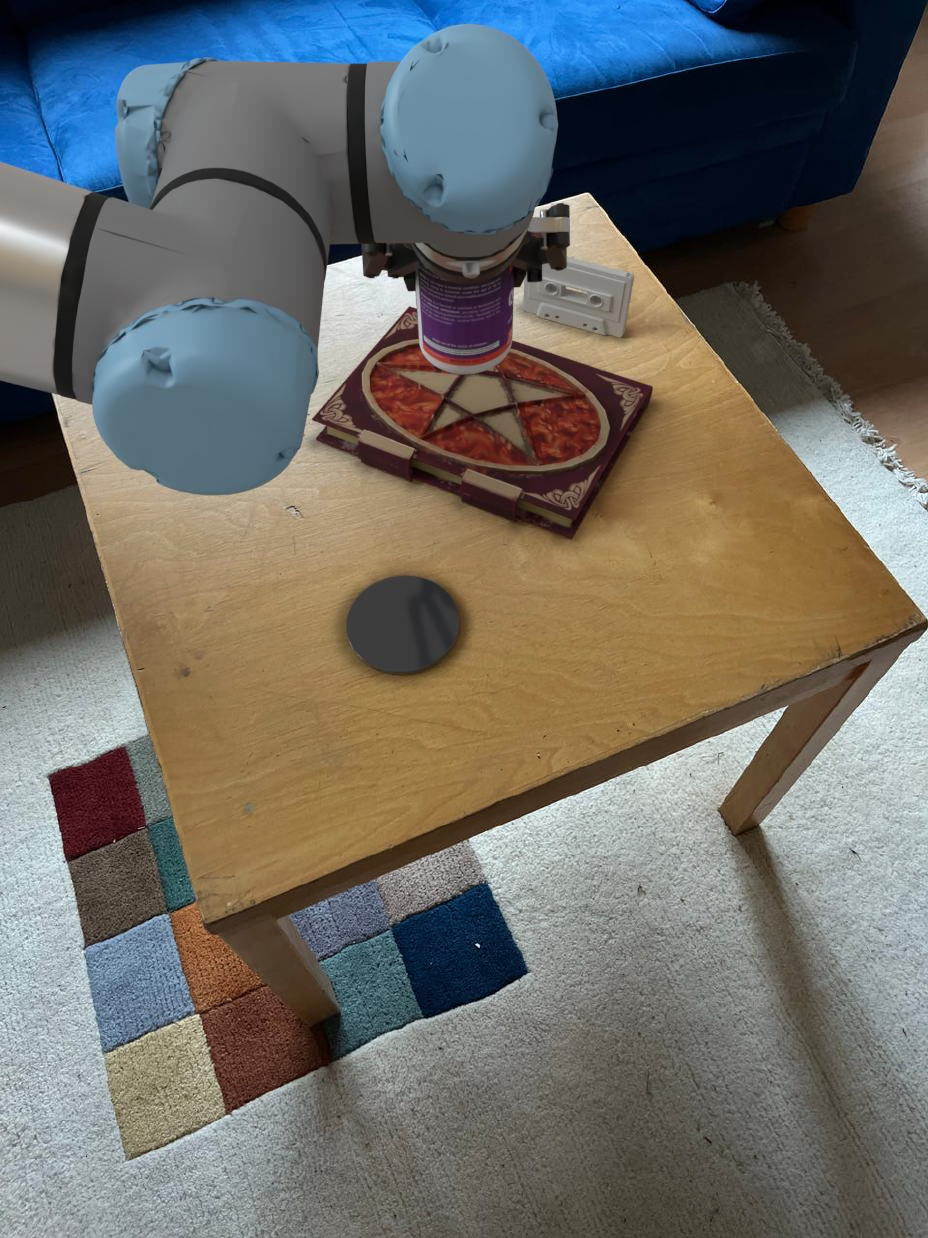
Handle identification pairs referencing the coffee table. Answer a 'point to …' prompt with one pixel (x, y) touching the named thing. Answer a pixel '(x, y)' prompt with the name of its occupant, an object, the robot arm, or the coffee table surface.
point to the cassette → (582, 296)
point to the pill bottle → (464, 321)
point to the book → (488, 426)
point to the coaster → (402, 625)
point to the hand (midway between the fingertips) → (463, 272)
